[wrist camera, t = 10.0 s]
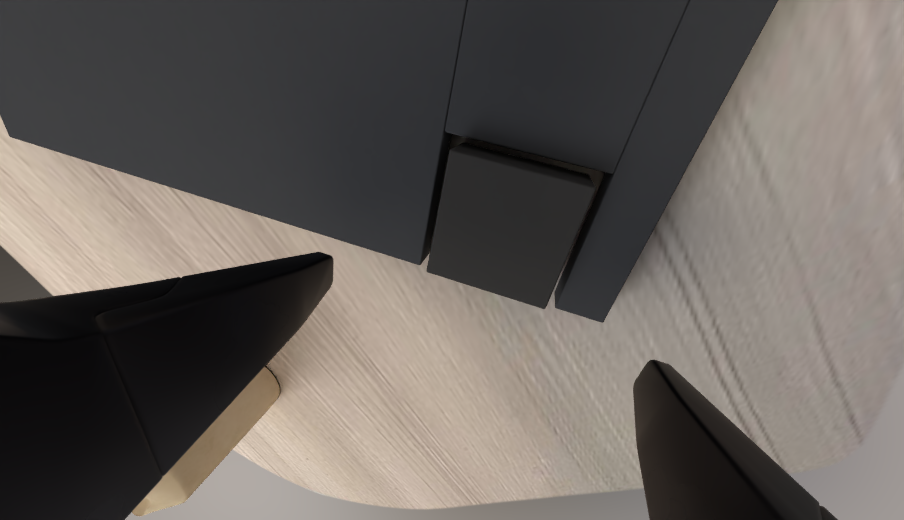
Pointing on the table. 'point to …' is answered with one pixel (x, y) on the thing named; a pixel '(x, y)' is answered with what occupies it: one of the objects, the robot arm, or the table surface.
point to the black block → (507, 222)
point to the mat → (382, 104)
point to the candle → (213, 445)
